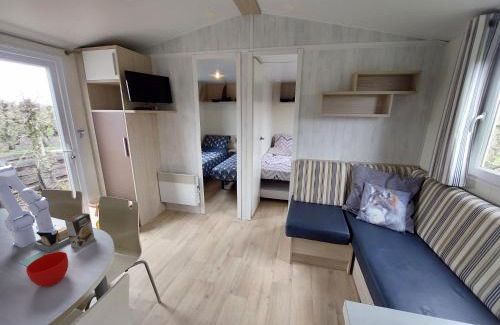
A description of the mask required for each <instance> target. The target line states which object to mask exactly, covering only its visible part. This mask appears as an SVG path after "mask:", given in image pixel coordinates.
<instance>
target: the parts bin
mask: <svg viewBox="0 0 500 325" xmlns="http://www.w3.org/2000/svg"><path fill="white" fill-rule="evenodd" d="M32 244H33V246H34V247H35V248H37V249H40V250H41V251H42V250H43V251H44V252H46V253H53V252H55V251H56V250H58V249H59V248H62V247H63V246H65V245H68V244H70V240H69V238H67V239H65V240H63V241H61V242H60V241H58V243H57V244H55V245H53V246H51V247H49V246H46V245H43V243H42V240H41V238H39V240H37V241H35V242H33V243H32Z"/></svg>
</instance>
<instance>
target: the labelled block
mask: <svg viewBox="0 0 500 325" xmlns="http://www.w3.org/2000/svg"><path fill="white" fill-rule="evenodd" d="M40 239H41V240H42V243H43V245H46V246H49V247H51V246H53V245H55V244H57V243H58V240H57V237H56V243H55V244H53V245H51V244H50V243H49V241H48V239H47V238H46V237H45V236H42V237H40Z"/></svg>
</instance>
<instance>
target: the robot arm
mask: <svg viewBox="0 0 500 325" xmlns="http://www.w3.org/2000/svg"><path fill="white" fill-rule="evenodd" d="M10 187H11V188H12V189H13V190H15V191H17V192H18V197H20V199H22V200H23V201H24V202H25V203H26V204H27V205H28V210H23V209H22V207H21V205H20V203H19V202H18V200H17V198H16V197H15V195H14V193H13V191H12V190H11V188H10ZM0 201H1V203H2V205H3V207H4V209H5V210H6V212H7V213H8V215H7V217H6V218H5V220H4V223H5V228H6V230H7V231H8V232H10V233H11V235H12V239H13V241H14V242H13V243H12V245H14V246H16V247H19V248H25V247H27V246H29V245H31V244H33V242H35V241H37V240H39V239H40V238H41V237H42V236H45V237H46V238H47V239H48V241H49V243H50V244H51V245H53V244H55V243H56V237H57V234H58V230H57V229H56V228H55V227H56V226H57V225H56V224H55V223H53V221H52V216H51V213H50V210H49V207H50V206H51V202H50V200H49V199H48V198H47V197H43V196H41V195H40V194H38V193H37V192H36V191H35V190H34V189H33V188H28V187H27V186H26V185H25V184H24V183H23V181H22V180H21V179H20V178H19V177H18V171H17V169H16V168H15V167H14V166H13V165H9V164H8V165H5V166H1V167H0ZM35 223H36V226H35V229H36V230H38V231H36V234H35V231H34V228H33V226H34V224H35ZM36 235H38V236H39V237H40V238H39V237H36Z"/></svg>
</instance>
